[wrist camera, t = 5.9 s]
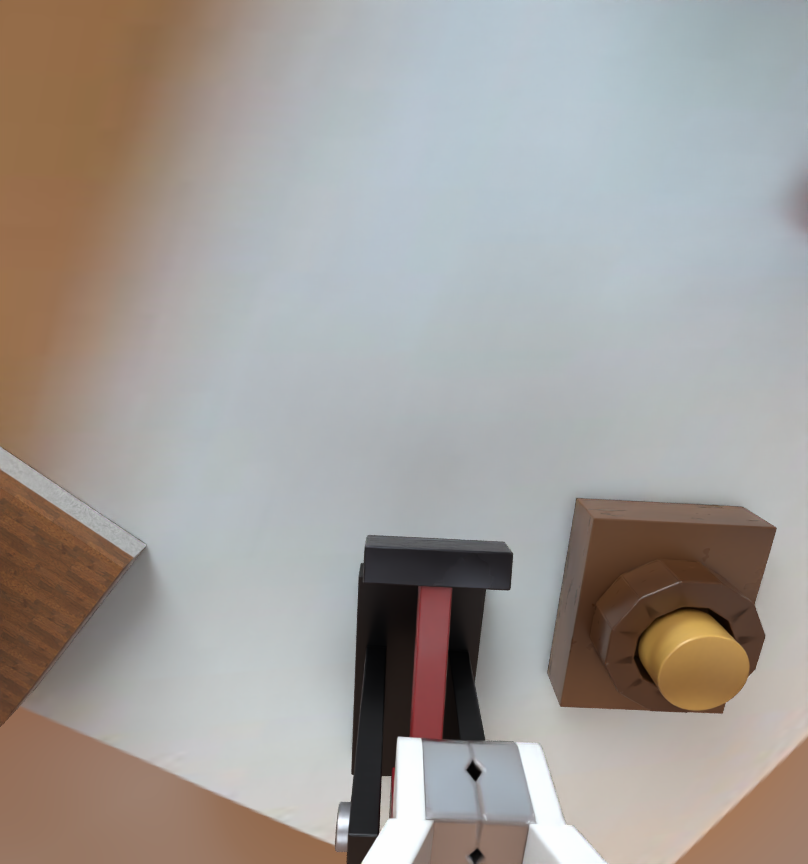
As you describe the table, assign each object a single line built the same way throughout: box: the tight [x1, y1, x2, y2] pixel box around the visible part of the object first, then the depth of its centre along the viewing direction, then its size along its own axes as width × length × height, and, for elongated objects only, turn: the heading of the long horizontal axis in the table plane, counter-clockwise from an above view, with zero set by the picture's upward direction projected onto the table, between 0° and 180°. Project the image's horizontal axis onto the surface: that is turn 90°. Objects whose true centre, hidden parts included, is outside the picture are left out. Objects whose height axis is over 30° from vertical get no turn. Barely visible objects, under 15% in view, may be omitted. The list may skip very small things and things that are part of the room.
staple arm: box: [363, 535, 513, 818], centre depth 17 cm, size 12×5×2 cm, turn 177°
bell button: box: [638, 609, 750, 711], centre depth 20 cm, size 4×4×2 cm
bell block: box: [547, 498, 777, 714], centre depth 22 cm, size 10×8×4 cm
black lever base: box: [335, 563, 486, 864], centre depth 21 cm, size 12×6×10 cm, turn 177°
